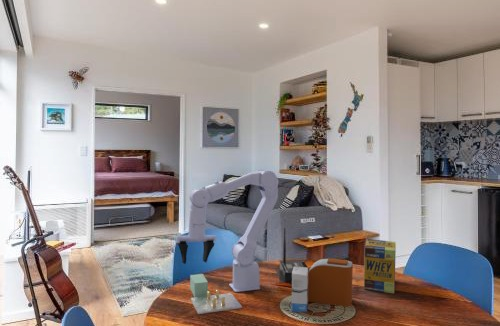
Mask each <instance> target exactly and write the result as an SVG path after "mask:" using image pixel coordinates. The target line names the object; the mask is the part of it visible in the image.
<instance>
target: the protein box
mask: <svg viewBox="0 0 500 326" xmlns="http://www.w3.org/2000/svg"><path fill="white" fill-rule="evenodd" d="M396 252H397V251H396V241H391V240H383V239H382V240H381V239H372V238H367V241H366V244H365V247H364V258H363V259H364V265H363V267H364V271H363V273H364V274H363V289H364V290H366V291H372V292H373V291H374V292H381V293H386V294H395V283H396Z"/></svg>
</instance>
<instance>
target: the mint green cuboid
mask: <svg viewBox="0 0 500 326" xmlns="http://www.w3.org/2000/svg"><path fill="white" fill-rule="evenodd" d="M189 275H190V277H189V279H190V280H189V283H190V284H189V285H190V286H189V289H190V291H191V293H192V295H193V298H194V297H202V296H207V291H209V282H208V280H207V278H206V277H205V274H203V273H198V274H189Z"/></svg>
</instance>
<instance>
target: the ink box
mask: <svg viewBox="0 0 500 326" xmlns="http://www.w3.org/2000/svg"><path fill="white" fill-rule="evenodd" d="M308 268H309V267H308ZM308 268H306V267H294V268H293V271H292V282H291V311H292V312H295V313H296V312H297V313H308V304H309V302H308Z"/></svg>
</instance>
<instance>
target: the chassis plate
mask: <svg viewBox="0 0 500 326" xmlns="http://www.w3.org/2000/svg"><path fill="white" fill-rule="evenodd" d="M222 297H225V306H221V298H222ZM213 298H215V299H216V307H212V299H213ZM190 301H191V302H192V305H193V307H194V309H195V311H196V313H197V314H198V315H203V314H210V313H211V314H212V313H216V312H217V313H218V312H223V311H231V310H232V311H233V310H238V309H242V308H243V305H241V303H240V302H239V301H238V299H237V298H236V297H235V296H234V295H233V294H232V293H231V292H226V293H221V294H220V293H219V298H216V294H212V295H211V294H210V299H207V296H202V297H194V296H193V297H190Z"/></svg>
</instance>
